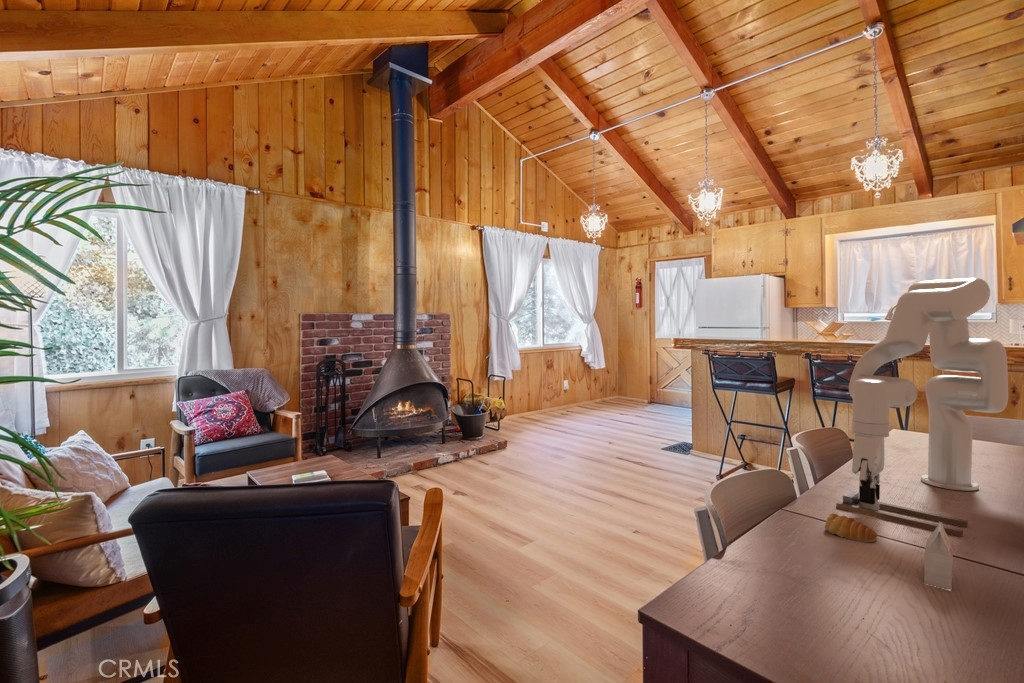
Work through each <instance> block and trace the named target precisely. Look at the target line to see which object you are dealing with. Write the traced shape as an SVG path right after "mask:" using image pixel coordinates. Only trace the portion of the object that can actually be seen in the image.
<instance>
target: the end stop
mask: <svg viewBox="0 0 1024 683" xmlns="http://www.w3.org/2000/svg"><path fill="white" fill-rule="evenodd" d="M842 503H846V504H851V505H855V506H859V491H854V490H849V491H847V492H846V493H844V494H843V495H842Z"/></svg>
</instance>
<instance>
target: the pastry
mask: <svg viewBox="0 0 1024 683" xmlns="http://www.w3.org/2000/svg"><path fill="white" fill-rule="evenodd" d="M824 528H825V530H826V531H827V532H828V533H829V534H832V535H837V536H838V537H841V538H843V537H845V538H844V539H848V540H851V539H853V540H852V541H856V540H858V541H857V542H860V541H863V542H862V543H864V542H866V543H873V542H875V541H877V538H878V533H877V532H876V531H875V530H874V529H872V528H871V527H869V526H868V525H866V524H864V523H863V522H861V521H858V520H856V519H855V518H854V517H849V516H846V515H838V514H837V513H834V512H833V513H830V514H829V516H828V517H827V518H826V521H825V525H824Z"/></svg>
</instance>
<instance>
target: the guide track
mask: <svg viewBox="0 0 1024 683" xmlns="http://www.w3.org/2000/svg"><path fill="white" fill-rule="evenodd" d="M878 502H879V503H880V505H879V507H880V509H882V510H885V511H881V510H878V511H877V510H873V509H868V508H864V507H860V506H859V504H860V502H859V504H858V505H857V506H855V505H851V504H846V503H843V501H842V502H841V501H837V502H836V503H835V504H836V508H837V509H839V510H844V509H845V511H848V510H849V511H848V512H852V513H853V512H854V513H857V514H862V515H867V516H870V517H875V518H879V519H883V520H888V521H891V522H895V523H900V524H904V525H908V526H912V527H913V526H914V527H915V528H916V527H917V528H921V529H925V530H930V531H932V532H934V530H935V529H936V527H937V526H938V523H934V522H939V521H940V523H941V522H942V525H943V523H944V524H948V525H953V526H958V527H963V528H968V526H969V520H966V519H961V518H957V517H952V516H947V515H944V514H943V515H942V514H938V513H934V512H933V513H932V512H929V511H924V510H919V509H914V508H911V507H907V506H901V505H897V504H893V503H892V504H891V503H886V502H881V501H878ZM886 511H891V512H894V513H899V515H898V514H894V513H890V512H886ZM900 514H904V515H908V516H913V517H917V518H922V519H926V520H931V521H934V522H929V521H925V520H921V519H916V518H911V517H908V516H904V515H900ZM943 528H944V530H945V532H946V534H947V535H952V536H955V537H959V536H960V537H959V538H962V537H963V536H964V529H961V528H957V527H952V526H947V525H943Z"/></svg>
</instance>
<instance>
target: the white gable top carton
mask: <svg viewBox="0 0 1024 683" xmlns="http://www.w3.org/2000/svg"><path fill="white" fill-rule="evenodd" d="M937 524H938V526H937V527H936V529H935V530H934V531H932V533H931V534H930V535H929V537H928V538H926V543H925V549H924V579H923V580H924V582H923V584H928V585H932V586H936V587H939V588H944V589H951V590H952V587H953V585H952V583H953V553H954V552H953V551H954V549H953V548H954V546H953V544H952V541H951V540H950V538H949V536H948V534H946V532H945V530H944V528H943V522H940V521H938V523H937ZM928 585H927V586H928ZM932 586H931V587H932ZM936 587H935V588H936ZM939 588H938V589H939Z"/></svg>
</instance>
